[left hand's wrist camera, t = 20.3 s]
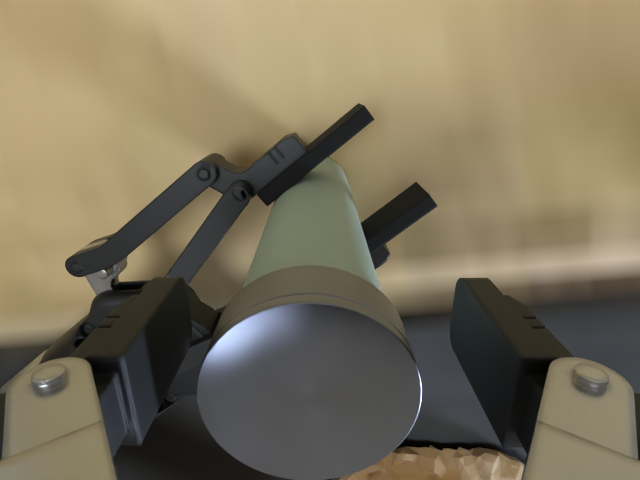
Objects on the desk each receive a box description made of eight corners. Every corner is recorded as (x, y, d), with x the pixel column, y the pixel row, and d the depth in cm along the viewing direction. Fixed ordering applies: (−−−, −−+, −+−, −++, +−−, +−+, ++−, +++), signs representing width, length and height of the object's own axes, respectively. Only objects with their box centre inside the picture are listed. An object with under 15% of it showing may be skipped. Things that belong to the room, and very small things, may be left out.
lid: (186, 290, 10) (159, 333, 8) (384, 242, 10) (400, 277, 8) (250, 436, 12) (238, 498, 10) (420, 402, 11) (437, 459, 10)
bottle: (360, 196, 28) (437, 400, 10) (306, 230, 29) (287, 475, 11) (324, 141, 26) (337, 261, 8) (268, 179, 27) (174, 360, 9)
